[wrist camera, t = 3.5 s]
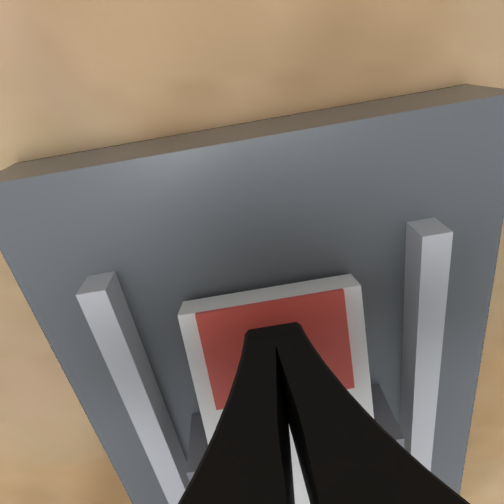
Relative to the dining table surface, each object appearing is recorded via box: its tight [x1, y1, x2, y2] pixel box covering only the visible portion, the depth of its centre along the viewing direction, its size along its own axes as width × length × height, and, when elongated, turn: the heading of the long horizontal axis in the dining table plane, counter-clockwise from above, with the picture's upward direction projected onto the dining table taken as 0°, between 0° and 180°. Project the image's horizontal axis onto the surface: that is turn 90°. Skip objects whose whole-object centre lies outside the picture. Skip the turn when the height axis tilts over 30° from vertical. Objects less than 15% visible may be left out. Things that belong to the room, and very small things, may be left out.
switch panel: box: [0, 84, 504, 504], centre depth 14 cm, size 20×14×5 cm
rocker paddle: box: [177, 274, 374, 504], centre depth 12 cm, size 12×5×1 cm, turn 9°
